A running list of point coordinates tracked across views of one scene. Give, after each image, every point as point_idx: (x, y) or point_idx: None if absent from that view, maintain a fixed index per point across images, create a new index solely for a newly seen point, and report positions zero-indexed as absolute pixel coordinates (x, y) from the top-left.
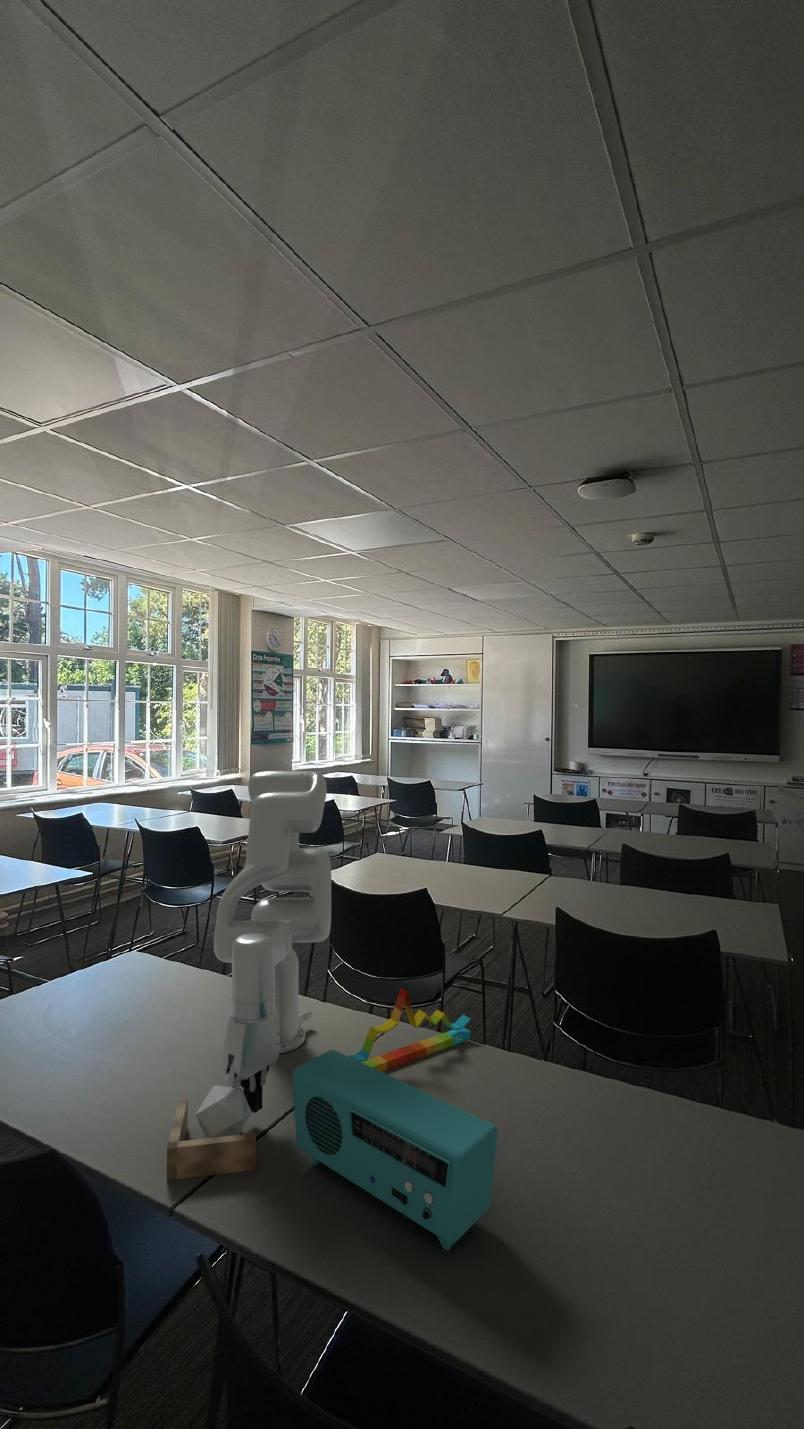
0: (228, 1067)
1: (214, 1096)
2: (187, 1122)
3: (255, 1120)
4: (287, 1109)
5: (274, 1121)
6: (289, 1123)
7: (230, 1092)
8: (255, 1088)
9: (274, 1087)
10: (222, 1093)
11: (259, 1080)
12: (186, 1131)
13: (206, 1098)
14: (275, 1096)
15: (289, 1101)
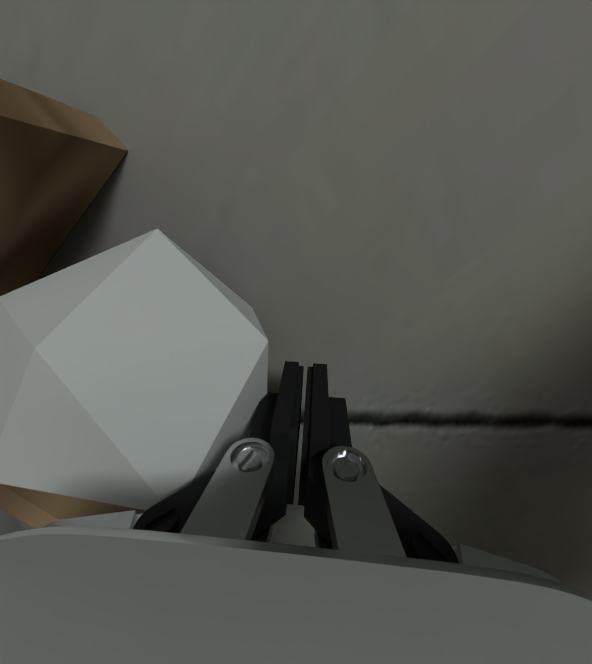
0: (37, 559)
1: (2, 427)
2: (106, 152)
3: (324, 359)
4: (432, 409)
5: (352, 412)
6: (365, 451)
7: (94, 492)
8: (286, 500)
9: (574, 273)
10: (50, 458)
11: (315, 542)
12: (101, 182)
13: (11, 333)
14: (500, 323)
15: (483, 388)
